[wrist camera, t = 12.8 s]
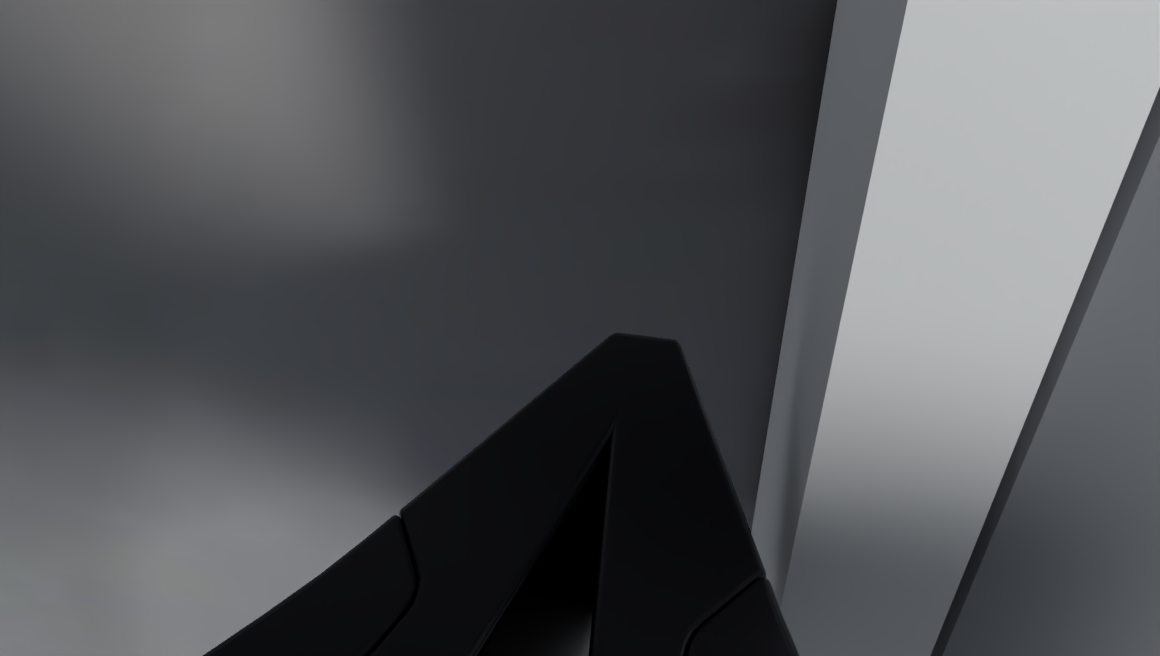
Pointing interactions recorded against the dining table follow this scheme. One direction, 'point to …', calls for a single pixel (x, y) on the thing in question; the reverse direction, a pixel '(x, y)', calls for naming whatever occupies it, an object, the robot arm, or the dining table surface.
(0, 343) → the dining table surface
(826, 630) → the grey boxy piece
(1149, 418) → the block
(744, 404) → the dining table surface
